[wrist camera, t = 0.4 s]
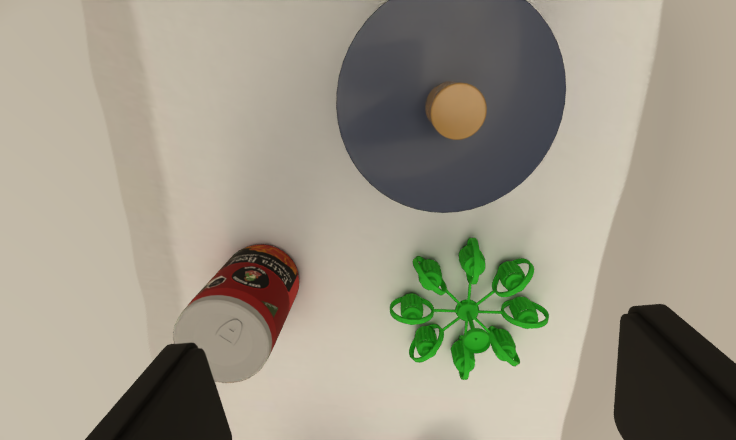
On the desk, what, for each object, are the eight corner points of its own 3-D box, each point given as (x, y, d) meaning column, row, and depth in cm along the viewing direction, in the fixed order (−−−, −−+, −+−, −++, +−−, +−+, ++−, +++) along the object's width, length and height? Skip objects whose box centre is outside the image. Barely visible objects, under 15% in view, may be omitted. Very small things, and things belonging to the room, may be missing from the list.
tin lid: (319, 3, 25) (300, -15, 20) (560, -41, 24) (607, -74, 18) (356, 219, 30) (348, 249, 25) (558, 194, 28) (595, 221, 23)
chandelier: (550, 232, 38) (583, 265, 31) (529, 363, 43) (553, 414, 36) (391, 229, 39) (390, 261, 32) (389, 357, 44) (388, 406, 37)
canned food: (311, 257, 40) (281, 320, 30) (288, 319, 43) (254, 397, 33) (238, 230, 40) (183, 284, 29) (219, 295, 42) (163, 366, 32)
